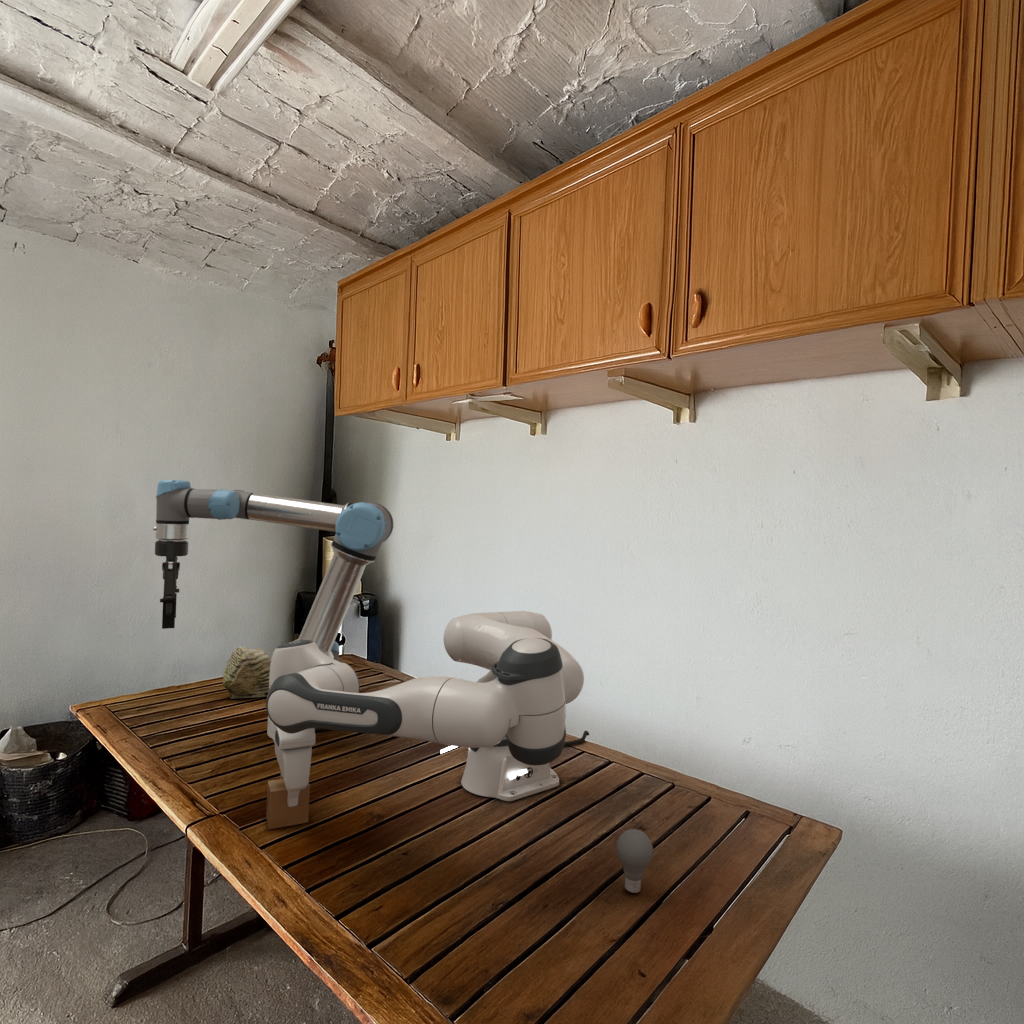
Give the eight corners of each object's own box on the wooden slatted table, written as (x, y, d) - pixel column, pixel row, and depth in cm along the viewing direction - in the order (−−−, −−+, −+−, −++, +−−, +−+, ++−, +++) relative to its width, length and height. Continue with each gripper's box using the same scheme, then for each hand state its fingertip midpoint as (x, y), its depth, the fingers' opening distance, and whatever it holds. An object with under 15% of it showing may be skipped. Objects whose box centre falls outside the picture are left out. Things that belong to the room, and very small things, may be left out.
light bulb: (610, 879, 108) (613, 822, 108) (644, 879, 109) (647, 822, 109) (619, 902, 102) (622, 840, 102) (655, 901, 103) (658, 840, 103)
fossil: (218, 695, 195) (220, 647, 195) (278, 685, 208) (279, 640, 207) (228, 703, 189) (230, 653, 188) (289, 692, 201) (290, 645, 201)
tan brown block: (266, 817, 124) (267, 780, 124) (304, 810, 128) (305, 775, 127) (269, 829, 120) (270, 791, 120) (308, 822, 123) (309, 785, 123)
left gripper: (157, 536, 171) (154, 614, 172) (152, 544, 149) (149, 633, 149) (188, 536, 175) (186, 613, 175) (188, 544, 152) (185, 632, 153)
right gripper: (268, 708, 131) (266, 774, 131) (281, 744, 113) (278, 821, 113) (300, 705, 134) (297, 770, 134) (317, 739, 116) (314, 814, 116)
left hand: (169, 623), depth 162 cm, fingers open, 13 cm apart
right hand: (288, 793), depth 124 cm, fingers open, 8 cm apart
